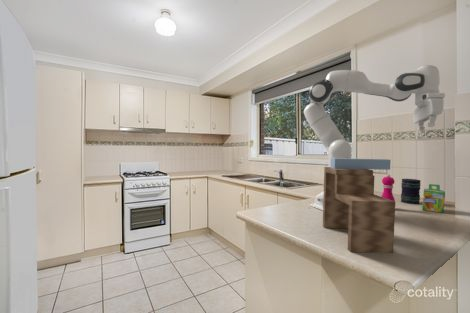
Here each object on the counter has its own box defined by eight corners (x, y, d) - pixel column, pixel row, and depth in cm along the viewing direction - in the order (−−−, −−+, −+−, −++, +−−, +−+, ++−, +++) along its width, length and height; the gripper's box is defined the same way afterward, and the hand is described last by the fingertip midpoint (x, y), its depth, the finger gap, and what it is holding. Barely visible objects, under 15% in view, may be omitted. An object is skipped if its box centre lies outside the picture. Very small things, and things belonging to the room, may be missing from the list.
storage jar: (405, 203, 146) (406, 180, 146) (397, 200, 156) (398, 178, 155) (423, 204, 144) (424, 181, 144) (413, 201, 154) (415, 178, 154)
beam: (383, 168, 96) (384, 159, 96) (390, 169, 92) (390, 159, 92) (330, 167, 96) (330, 158, 96) (334, 168, 92) (334, 158, 92)
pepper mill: (389, 210, 129) (391, 175, 128) (377, 207, 136) (378, 173, 135) (397, 209, 133) (398, 174, 132) (384, 206, 139) (385, 173, 138)
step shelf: (354, 226, 101) (356, 167, 100) (393, 252, 76) (396, 174, 75) (322, 226, 101) (324, 167, 100) (350, 251, 76) (353, 173, 75)
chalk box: (422, 210, 131) (423, 184, 130) (422, 207, 138) (423, 182, 137) (444, 213, 125) (445, 186, 124) (443, 210, 132) (445, 184, 131)
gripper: (409, 106, 121) (409, 132, 120) (429, 92, 101) (428, 123, 100) (424, 106, 119) (423, 133, 118) (447, 92, 99) (446, 123, 98)
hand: (426, 128), depth 109 cm, fingers open, 8 cm apart
